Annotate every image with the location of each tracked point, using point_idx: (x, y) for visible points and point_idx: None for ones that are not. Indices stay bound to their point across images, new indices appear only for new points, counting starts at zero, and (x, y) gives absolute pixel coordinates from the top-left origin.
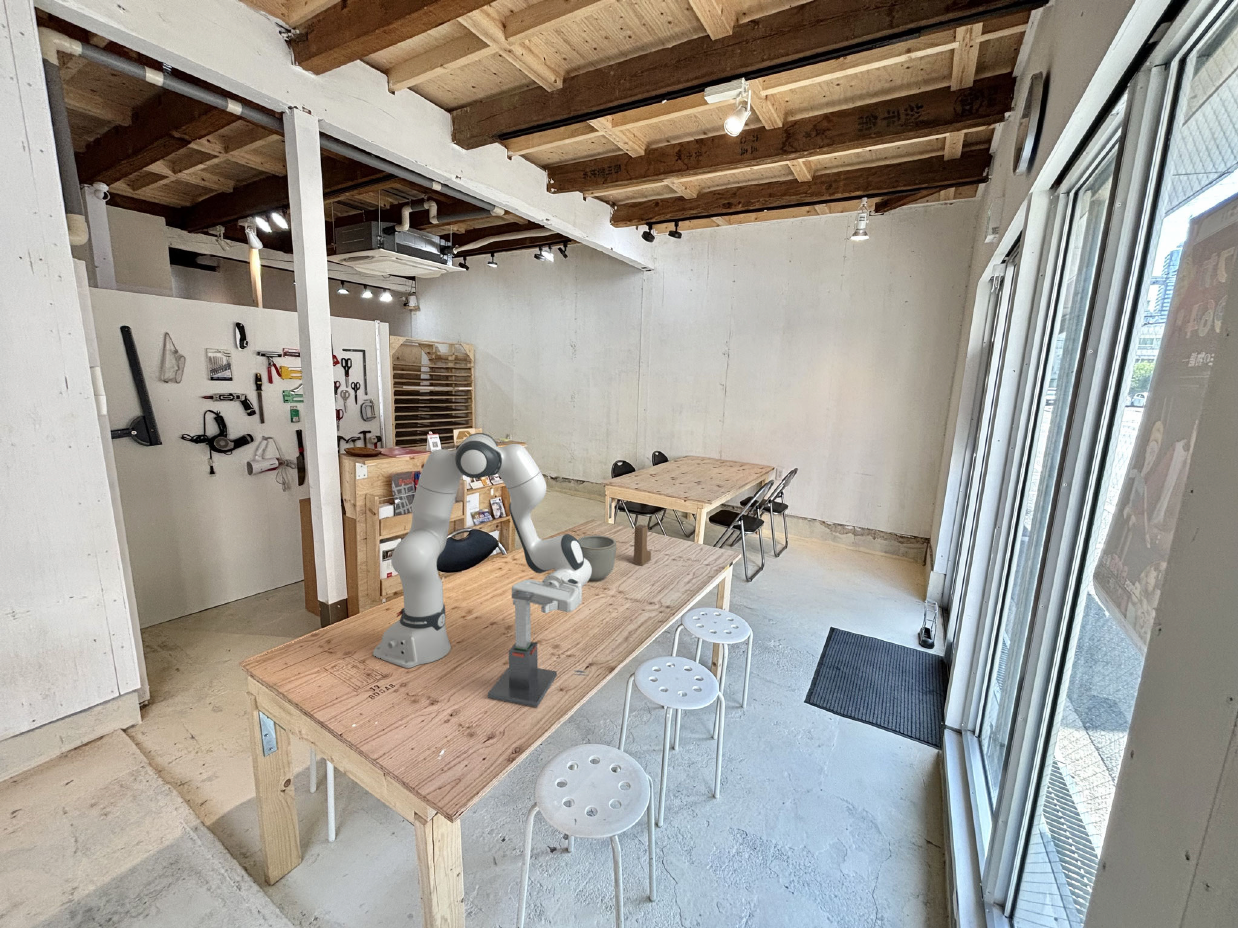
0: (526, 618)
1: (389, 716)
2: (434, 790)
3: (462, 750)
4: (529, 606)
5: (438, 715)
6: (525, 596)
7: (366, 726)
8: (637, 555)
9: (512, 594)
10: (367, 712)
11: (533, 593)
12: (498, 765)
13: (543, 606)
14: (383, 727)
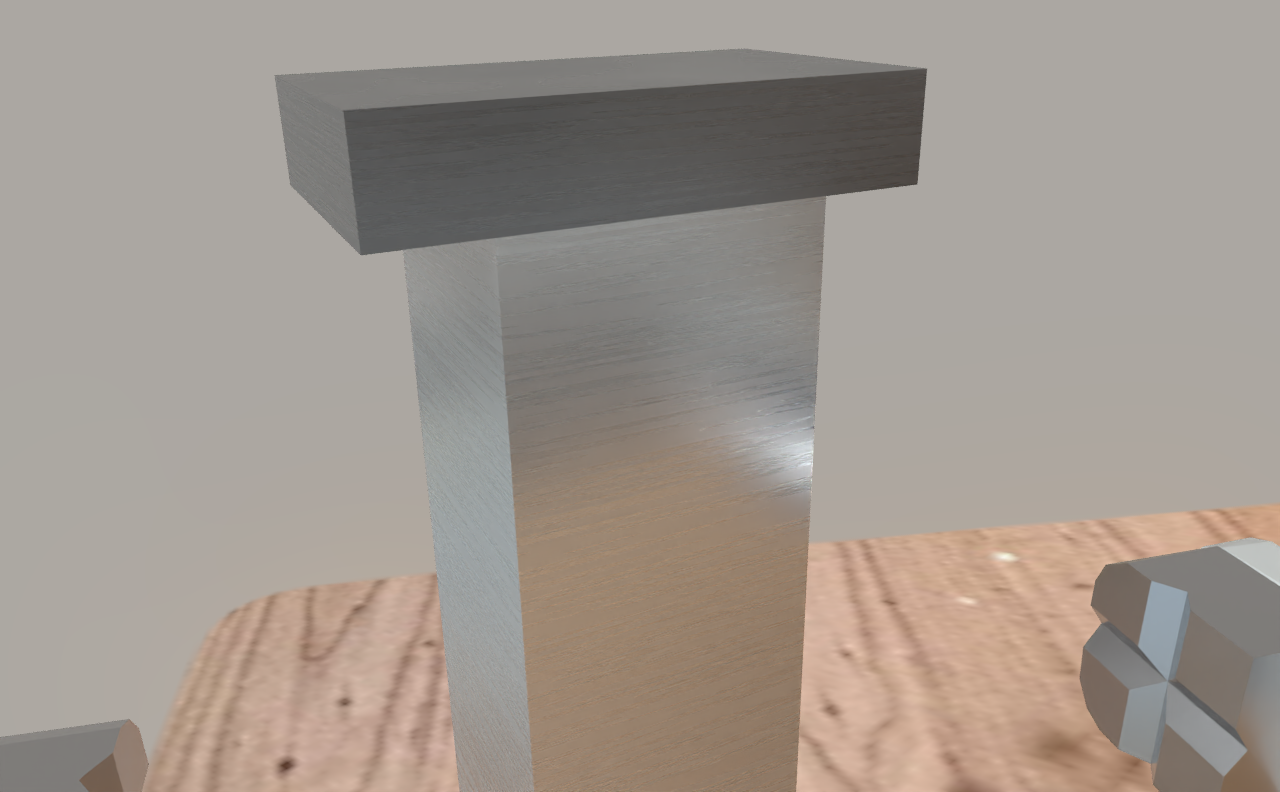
0: (457, 657)
1: (982, 639)
2: (370, 596)
3: (443, 731)
4: (495, 543)
5: (818, 772)
6: (401, 74)
7: (962, 576)
8: None
9: (744, 51)
10: (1079, 601)
11: (341, 141)
12: (173, 784)
13: (43, 740)
14: (907, 605)
